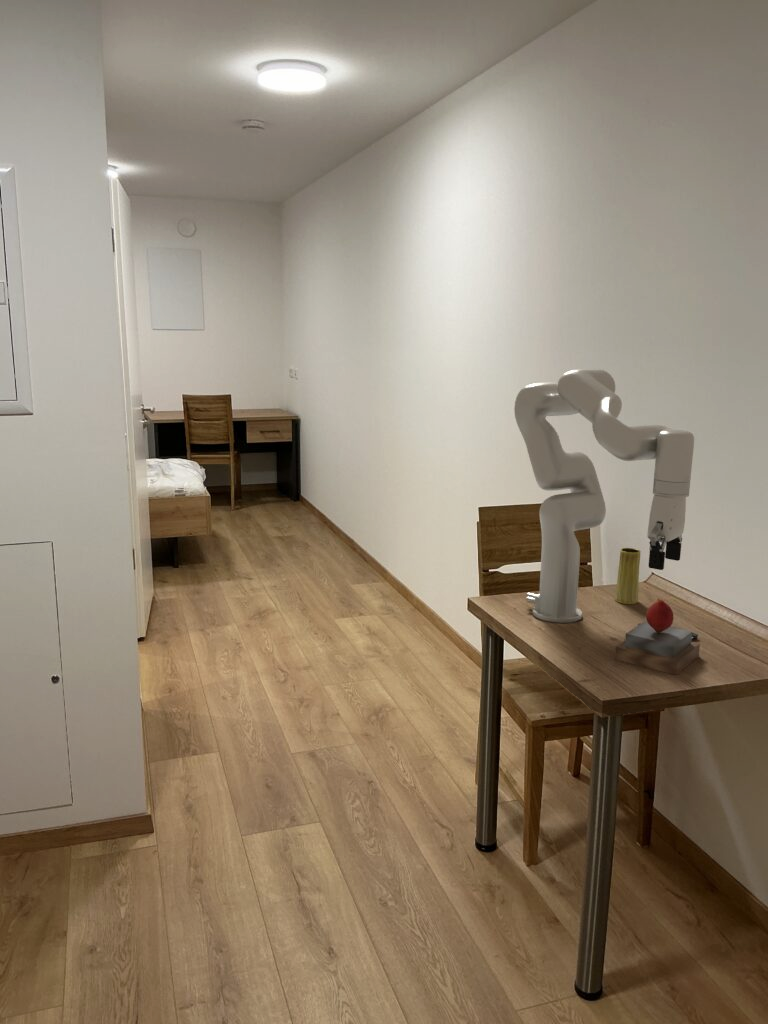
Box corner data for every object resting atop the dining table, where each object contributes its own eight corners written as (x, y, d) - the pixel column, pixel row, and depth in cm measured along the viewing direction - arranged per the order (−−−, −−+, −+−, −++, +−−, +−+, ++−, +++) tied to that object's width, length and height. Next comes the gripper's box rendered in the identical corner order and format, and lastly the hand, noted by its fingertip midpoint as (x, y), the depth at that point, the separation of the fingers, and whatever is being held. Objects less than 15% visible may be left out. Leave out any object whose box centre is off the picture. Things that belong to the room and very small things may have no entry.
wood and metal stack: (614, 659, 196) (616, 633, 194) (639, 642, 206) (641, 617, 205) (676, 675, 187) (678, 648, 186) (698, 656, 198) (701, 631, 197)
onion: (665, 627, 199) (667, 593, 197) (677, 636, 193) (679, 601, 191) (640, 628, 198) (643, 594, 196) (652, 637, 192) (654, 603, 191)
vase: (642, 603, 235) (646, 552, 232) (621, 605, 233) (625, 553, 230) (631, 597, 241) (634, 546, 238) (610, 598, 239) (614, 547, 236)
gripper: (668, 480, 197) (662, 553, 201) (638, 491, 184) (632, 569, 188) (702, 484, 193) (694, 559, 197) (673, 496, 180) (666, 575, 183)
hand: (664, 563), depth 192 cm, fingers open, 9 cm apart
